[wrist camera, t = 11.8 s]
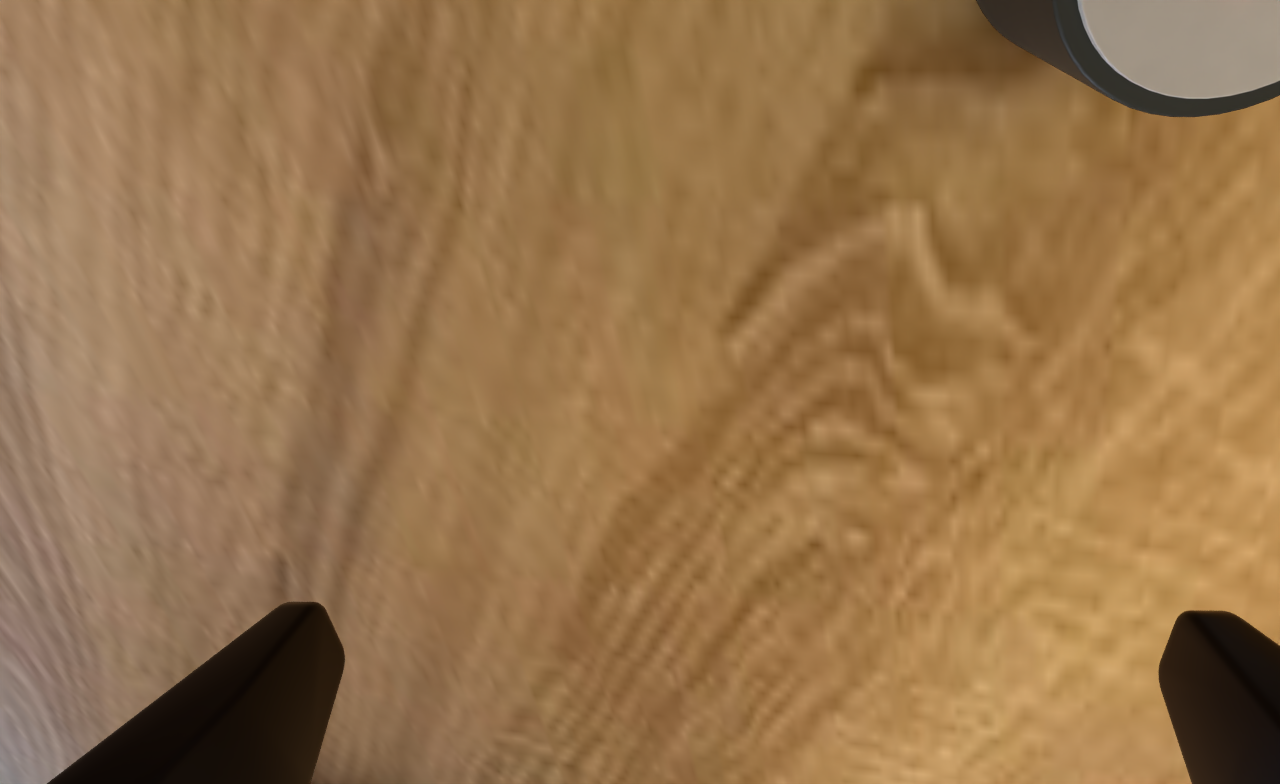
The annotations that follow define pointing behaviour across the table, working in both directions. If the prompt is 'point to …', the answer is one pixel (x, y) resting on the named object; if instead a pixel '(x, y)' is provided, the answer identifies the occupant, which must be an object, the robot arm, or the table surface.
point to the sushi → (1154, 49)
